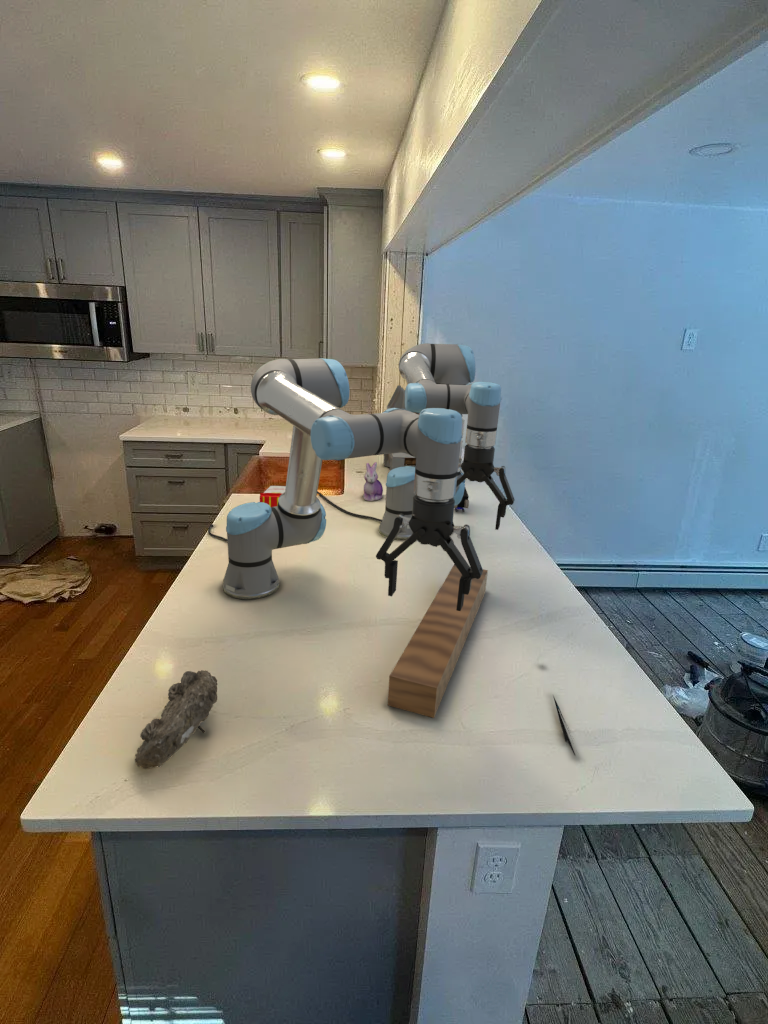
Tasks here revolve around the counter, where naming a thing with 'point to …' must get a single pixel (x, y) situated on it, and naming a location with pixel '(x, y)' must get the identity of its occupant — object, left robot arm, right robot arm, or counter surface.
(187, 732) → the fossil
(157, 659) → the counter surface
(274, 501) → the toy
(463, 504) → the figurine character
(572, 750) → the feather
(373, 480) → the figurine
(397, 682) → the thick board
